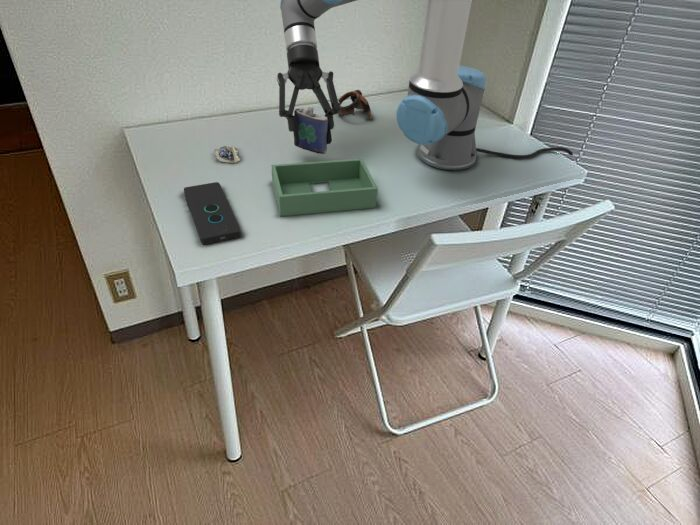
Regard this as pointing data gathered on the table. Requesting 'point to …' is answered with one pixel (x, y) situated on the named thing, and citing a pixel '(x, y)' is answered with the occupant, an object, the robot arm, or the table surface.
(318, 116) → the flask
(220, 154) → the geode half
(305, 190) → the open box
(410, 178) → the table surface
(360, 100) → the brown looped sculpture
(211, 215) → the smart home device
